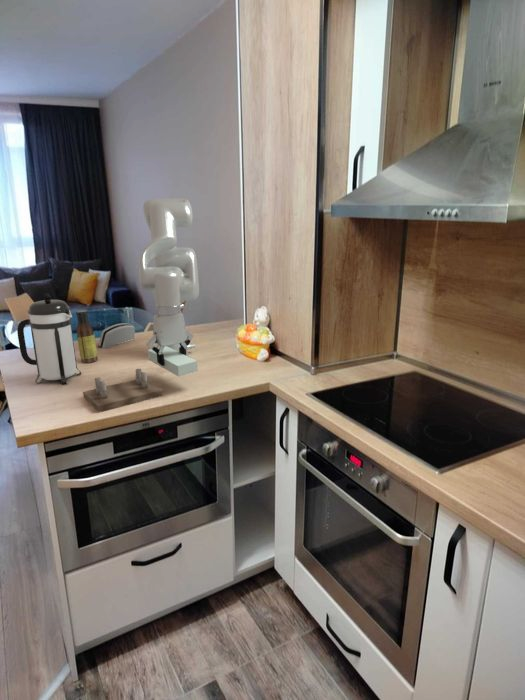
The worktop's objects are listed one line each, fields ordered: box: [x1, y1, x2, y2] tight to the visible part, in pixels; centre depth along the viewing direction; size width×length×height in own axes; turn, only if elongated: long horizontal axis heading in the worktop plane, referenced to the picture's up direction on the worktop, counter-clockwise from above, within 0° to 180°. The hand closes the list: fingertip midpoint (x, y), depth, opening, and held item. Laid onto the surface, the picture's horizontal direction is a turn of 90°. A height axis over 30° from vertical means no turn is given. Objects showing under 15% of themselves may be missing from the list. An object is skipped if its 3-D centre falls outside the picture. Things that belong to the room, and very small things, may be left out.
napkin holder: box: [96, 322, 136, 349], centre depth 203 cm, size 17×5×10 cm, turn 145°
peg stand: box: [82, 368, 163, 413], centre depth 145 cm, size 20×14×7 cm
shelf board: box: [147, 346, 199, 377], centre depth 155 cm, size 20×7×4 cm, turn 41°
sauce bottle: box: [75, 309, 99, 364], centre depth 178 cm, size 6×6×20 cm
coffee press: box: [16, 292, 82, 386], centre depth 157 cm, size 17×16×30 cm
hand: (172, 361), depth 155 cm, fingers closed on shelf board, 7 cm apart
